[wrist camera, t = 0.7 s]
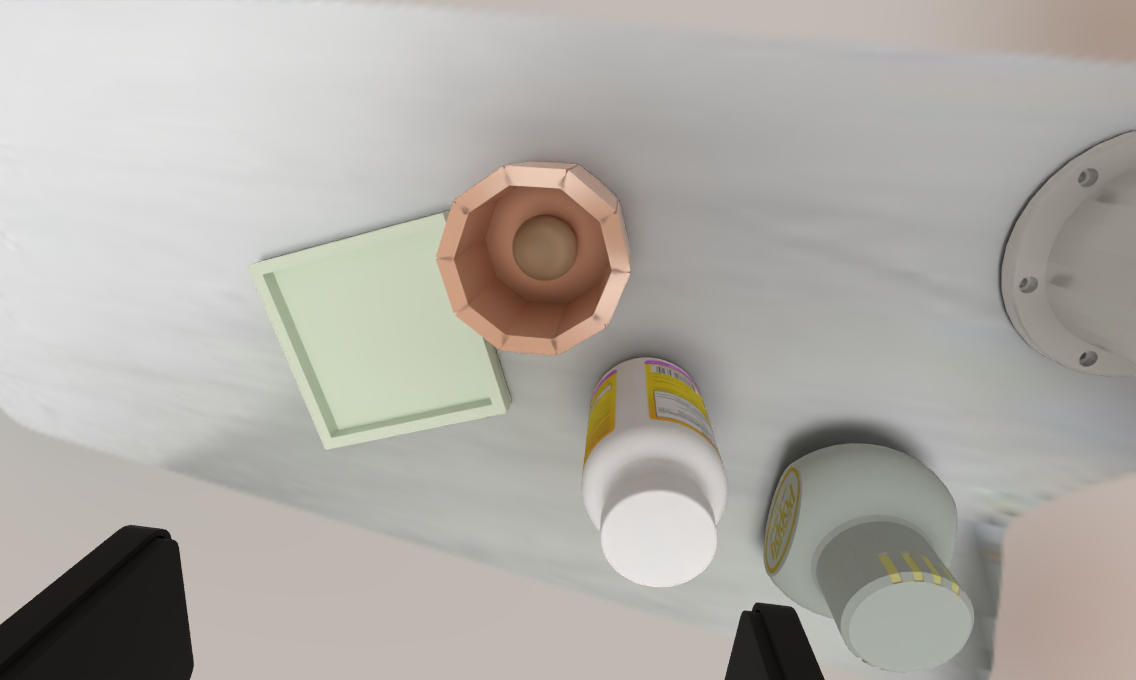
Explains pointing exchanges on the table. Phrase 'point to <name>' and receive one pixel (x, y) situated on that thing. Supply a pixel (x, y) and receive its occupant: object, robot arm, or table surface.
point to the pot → (498, 286)
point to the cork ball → (545, 247)
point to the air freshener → (871, 553)
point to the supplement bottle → (653, 473)
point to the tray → (378, 336)
